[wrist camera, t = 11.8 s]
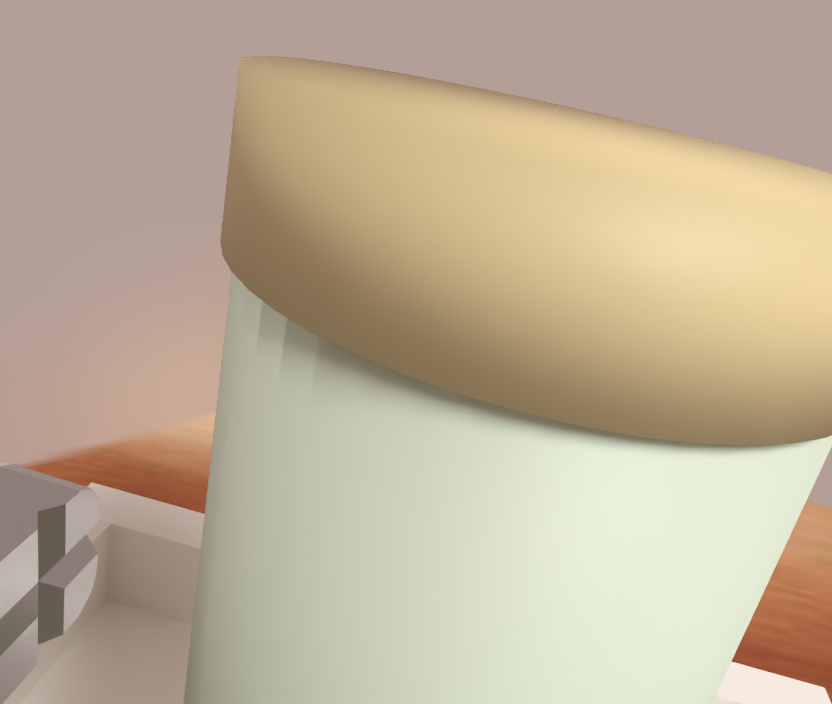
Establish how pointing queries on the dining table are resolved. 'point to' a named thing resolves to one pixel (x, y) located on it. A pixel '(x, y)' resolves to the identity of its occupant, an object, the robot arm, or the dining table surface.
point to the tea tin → (500, 397)
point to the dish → (173, 615)
